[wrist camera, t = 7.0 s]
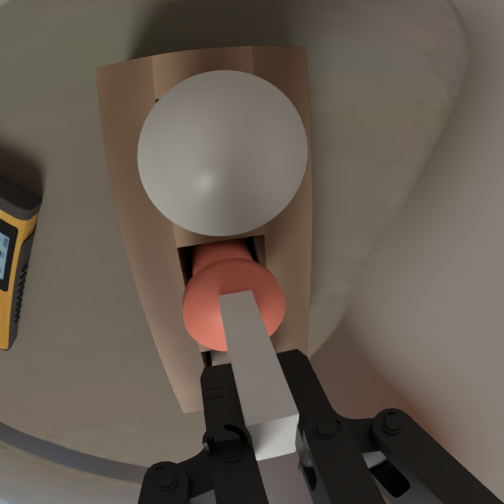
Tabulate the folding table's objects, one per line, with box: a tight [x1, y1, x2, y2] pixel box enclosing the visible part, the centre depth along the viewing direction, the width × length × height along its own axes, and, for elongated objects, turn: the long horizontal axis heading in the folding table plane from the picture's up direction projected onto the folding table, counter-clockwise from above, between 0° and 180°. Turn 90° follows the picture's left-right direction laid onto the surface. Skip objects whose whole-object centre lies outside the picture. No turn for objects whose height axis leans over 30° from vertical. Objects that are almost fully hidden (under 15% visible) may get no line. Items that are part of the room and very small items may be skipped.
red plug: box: [183, 238, 285, 351], centre depth 17 cm, size 5×5×8 cm
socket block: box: [96, 46, 312, 413], centre depth 19 cm, size 10×24×6 cm, turn 4°
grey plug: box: [137, 70, 308, 236], centre depth 11 cm, size 5×5×8 cm
